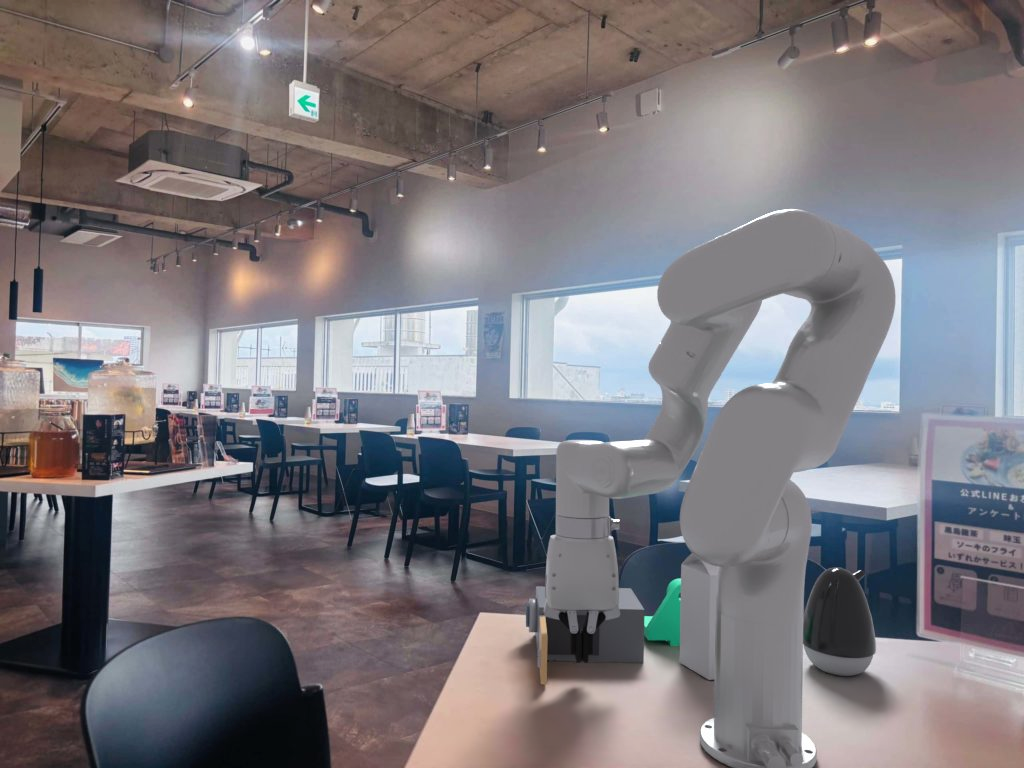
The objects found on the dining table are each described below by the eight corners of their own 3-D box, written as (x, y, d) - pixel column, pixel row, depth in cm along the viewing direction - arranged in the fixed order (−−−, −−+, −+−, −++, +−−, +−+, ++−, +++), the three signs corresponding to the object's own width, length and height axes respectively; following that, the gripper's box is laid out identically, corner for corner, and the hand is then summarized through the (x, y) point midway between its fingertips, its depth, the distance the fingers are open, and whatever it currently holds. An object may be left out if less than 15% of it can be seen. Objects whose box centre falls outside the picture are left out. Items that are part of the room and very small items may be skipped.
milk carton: (749, 675, 102) (750, 544, 103) (708, 681, 100) (710, 547, 100) (717, 658, 109) (719, 535, 110) (679, 663, 106) (681, 537, 107)
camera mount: (706, 631, 122) (707, 572, 122) (720, 647, 115) (721, 583, 115) (637, 631, 122) (638, 571, 122) (647, 646, 114) (648, 583, 114)
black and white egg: (892, 676, 103) (893, 572, 103) (842, 687, 99) (843, 578, 99) (833, 653, 112) (834, 557, 113) (785, 662, 108) (787, 562, 108)
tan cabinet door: (537, 684, 96) (538, 636, 96) (535, 658, 106) (536, 614, 106) (547, 684, 96) (548, 636, 96) (544, 658, 106) (545, 614, 106)
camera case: (643, 663, 106) (644, 605, 106) (526, 660, 106) (527, 602, 106) (630, 636, 118) (630, 584, 119) (524, 633, 118) (526, 581, 119)
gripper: (630, 523, 103) (629, 650, 102) (528, 522, 103) (527, 649, 102) (640, 533, 96) (639, 669, 95) (530, 532, 95) (528, 668, 95)
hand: (581, 659), depth 99 cm, fingers closed
